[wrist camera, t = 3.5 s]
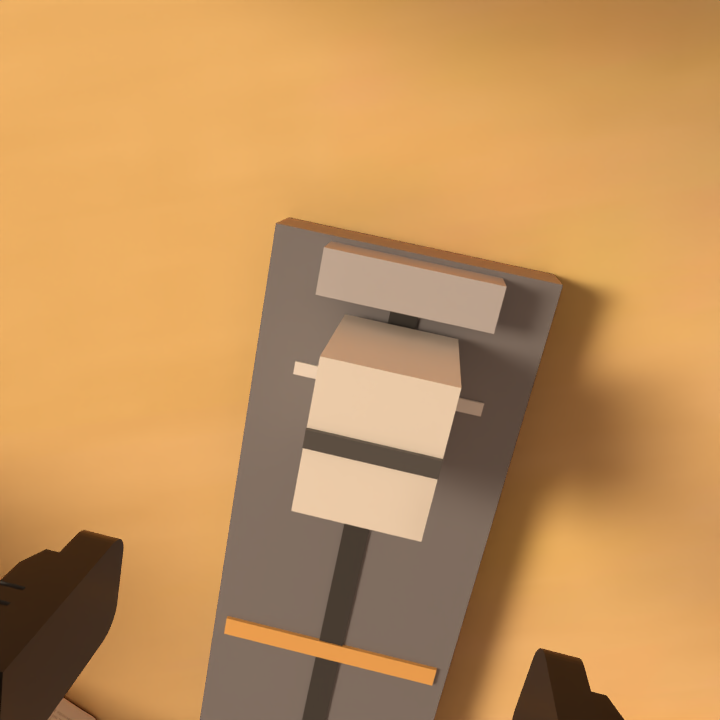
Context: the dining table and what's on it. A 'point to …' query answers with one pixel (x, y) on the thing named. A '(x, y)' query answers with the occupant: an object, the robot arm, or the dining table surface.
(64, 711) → the skincare box
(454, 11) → the dining table surface
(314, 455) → the fader knob
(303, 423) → the fader board
